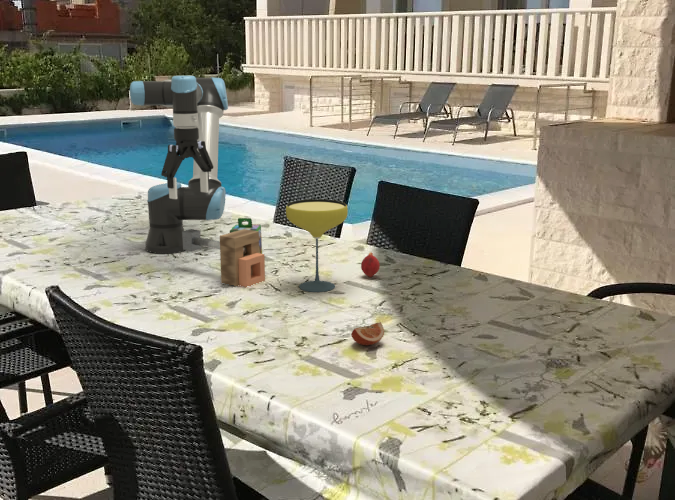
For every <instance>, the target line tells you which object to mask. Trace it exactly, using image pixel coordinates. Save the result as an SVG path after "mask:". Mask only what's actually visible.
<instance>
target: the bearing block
mask: <svg viewBox="0 0 675 500" xmlns="http://www.w3.org/2000/svg"><path fill="white" fill-rule="evenodd" d="M219 241H220V250H219V256H220V282H221V284H222V283H225V284H224V285H226V284H229V285H228V286H231V285H234V286H233V287H235V286H237V287H239V286H238V285H239V261H238V259H239V258H242V257H246V256H249V255H252V254H255V253H259V231H253V230H247V229H242V230H239V231H235V232H231V233H230V232H229V233H228V232H227V233H225V234H221V235H219ZM243 246H246V248H247V251H246V253H245V254H243ZM251 275H253V265H251Z"/></svg>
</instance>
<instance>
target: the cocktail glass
mask: <svg viewBox="0 0 675 500" xmlns="http://www.w3.org/2000/svg"><path fill="white" fill-rule="evenodd" d="M348 213H349V211H348V205H347V204H346V203H345V202H343V201H339V200H333V199H321V198H320V199H318V198H317V199H315V198H313V199H303V200H295V201H291V202H289V203H287V204H286V207H285V215H286V219H287V220H288V221H289V222H290V223H292V224H293V225H295V226H296V227H298V228H301V229H302V230H304V231H306V232H308V233H309V234H310V235H311V237H312V239H313V238H314V239H315V275H314V276H315V278H314V280H308V281H304V282H301V283H300V284H299V286H298V287H299V290H302V291H305V292H309V293H323V292H324V293H325V292H330V291H332V290H334V289H336V284H335V283H333V282H331V281H326V280H321V279H320V275H319V272H320V271H319V239H321V238H322V237H323V235H324V234H325V233H326V232H328V231H329V230H331V229H333V228H336V227H338V226H339V225H340V224H342V223H343V222H344V221H345V220H346V219H347V218H348Z"/></svg>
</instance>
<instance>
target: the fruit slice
mask: <svg viewBox="0 0 675 500" xmlns="http://www.w3.org/2000/svg"><path fill="white" fill-rule="evenodd" d="M350 335H351V338H352V340H353V341H354V342H355V343H356V344H358V345H361V346H373V345H374V344H377V343H379V342H380V341H381V340H382V339H383V337H384V335H385V328H384V326H383V324H382V322H381V321H379V322H375V323H372V324H370V325H363V326H360V327H355V328H354V329H353V330H352V331H351V334H350Z"/></svg>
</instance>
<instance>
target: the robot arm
mask: <svg viewBox="0 0 675 500" xmlns="http://www.w3.org/2000/svg"><path fill="white" fill-rule="evenodd" d="M227 96H228V95H227V88H226V84H225V80H224V79H223V78H221V77H213V76H210V77H196V76H194V75H174V76H171V79H164V80H162V81H161V80H158V81H157V80H140V81H139V80H136V81H135V80H134V81H132V82H131V83H130V86H129V98H130V102H131V104H133V105H134V106H163V107H165V108H172V120H173V123H172V124H173V127H174V128H173V139H174V140H175V144H168V146H167V153H166V157H165V160H164V163H163V166H162V170H161V173H160V175H161V176H162V177H164V178H166V183H161V184H156V185H153V186H151V187H149V188H148V189H147V200H146V201H147V209H148V211H147V212H148V225H149V226H148V227H149V228H148V229H149V230H148V234H147V236H146V241H145V251H146V250H148V251H151V252H156V253H155V254H160V253H166V254H175V253H174V252H177V253H180V252H179V251H181V252H184V251H183V238H182V231H185V228H184V223H183V222H184V221H215V220H216V221H217V220H219V219H221V217H222V216H223V214H224V210H225V206H226V196H227V195H226V194H227V192H226V188H225V187H224V186H222V182H221V180H219V179H218V173H219V172H218V170H219V169H218V167H219V161H218V160H219V136H220V135H219V133H220V132H219V131H220V130H219V129H220V126H219V125H220V119H221V118H222V117H223V116H224V112H225V111H227V110H228V109H229V104H228V103H229V102H228V101H229V100H228V97H227ZM188 158H192V159H193V168H192V171H193V172H192V173H193V174H192V177H191V178H190V179H189V180H188V185H187V186H186V187H185V186H182V184H181V182H177V177H176V174H177V172H178V171H179V168H180V166H181V164H182V163H183V161H185V159H188ZM148 251H147V252H148ZM151 252H150V253H151Z"/></svg>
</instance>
